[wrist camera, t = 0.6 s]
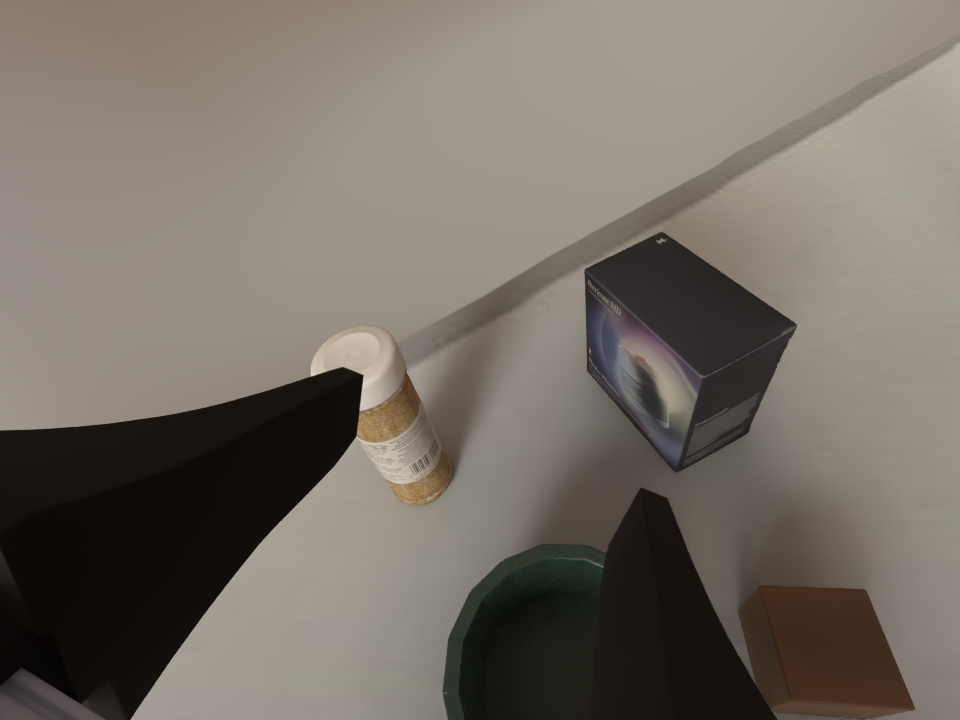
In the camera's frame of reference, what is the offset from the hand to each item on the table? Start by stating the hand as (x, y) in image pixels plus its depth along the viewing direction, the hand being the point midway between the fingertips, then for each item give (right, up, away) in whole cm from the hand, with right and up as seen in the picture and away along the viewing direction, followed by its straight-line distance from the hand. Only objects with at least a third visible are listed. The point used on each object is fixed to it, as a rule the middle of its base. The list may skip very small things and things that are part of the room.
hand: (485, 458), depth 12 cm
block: (+16, -12, +12) cm, 23 cm away
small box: (+13, -1, +23) cm, 26 cm away
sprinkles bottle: (-4, -6, +22) cm, 23 cm away
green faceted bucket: (+5, -15, +13) cm, 20 cm away
